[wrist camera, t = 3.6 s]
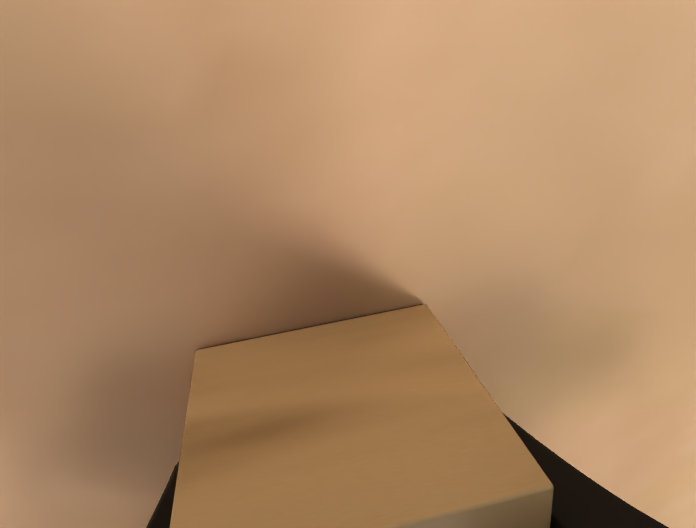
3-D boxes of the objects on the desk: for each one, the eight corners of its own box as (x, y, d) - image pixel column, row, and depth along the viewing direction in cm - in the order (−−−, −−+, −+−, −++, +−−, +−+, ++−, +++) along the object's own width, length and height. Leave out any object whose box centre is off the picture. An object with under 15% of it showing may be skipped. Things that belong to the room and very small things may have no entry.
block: (434, 467, 13) (536, 690, 9) (243, 514, 12) (245, 782, 8) (426, 303, 11) (555, 486, 6) (194, 349, 10) (158, 588, 6)
